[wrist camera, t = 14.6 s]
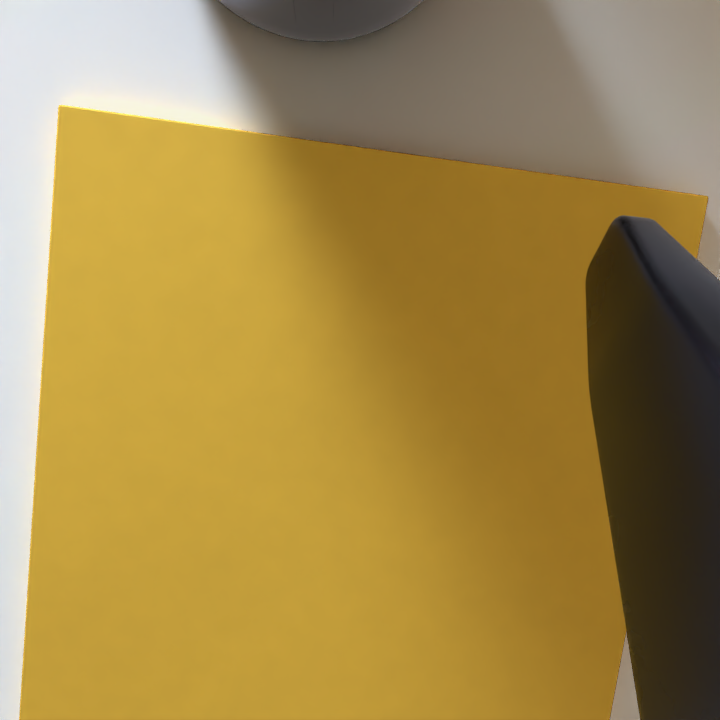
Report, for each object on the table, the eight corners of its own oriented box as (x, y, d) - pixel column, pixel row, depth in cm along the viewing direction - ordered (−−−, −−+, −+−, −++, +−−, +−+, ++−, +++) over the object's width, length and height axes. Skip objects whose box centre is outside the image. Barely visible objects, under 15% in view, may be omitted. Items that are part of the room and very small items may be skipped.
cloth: (570, 889, 19) (575, 902, 19) (15, 859, 18) (8, 872, 17) (700, 197, 16) (709, 196, 16) (64, 108, 15) (57, 104, 15)
